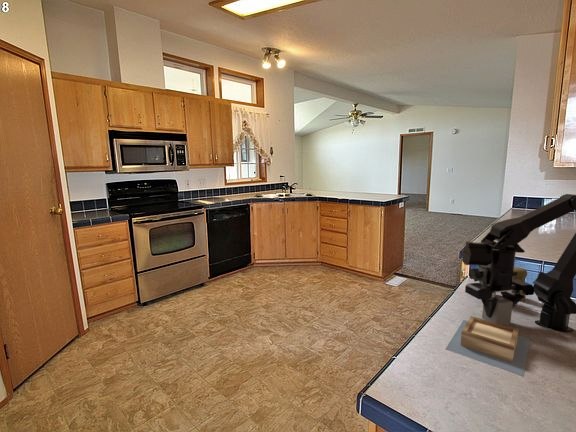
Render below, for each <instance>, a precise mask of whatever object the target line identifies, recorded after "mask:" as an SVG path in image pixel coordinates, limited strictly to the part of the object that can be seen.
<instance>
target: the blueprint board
mask: <svg viewBox="0 0 576 432" xmlns="http://www.w3.org/2000/svg"><path fill="white" fill-rule="evenodd" d="M467 322H468V320H464V319H463V320H462V321H461V323H460V325H459V326H458V329H457V330H456V332H455V333H454V335H453V336H452V338H451V339H450V341H449V342H448V344H447V346H446V347H445V350H446V351H450V352H451V353H452V352H453V353H456V354H458V355H461V356H464V357H467V358H469V359H473V360H475V361H478V362H481V363H484V364H487V365H490V366H493V367H495V368H499V369H501V370H503V371H507V372H510V373H512V374H515V375H518V376H522V377H524V375H525V371H526V367H527V359H528V355H529V354H528V353H529V347H530V343H531V338H528V337H525V336H521V335H518V339H517V345H516V349H515V353H514V357H513V361H512V362H510V361H507V360H504V359H501V358H498V357H495V356H492V355H489V354H486V353H483V352H480V351H477V350H474V349H471V348H468V347H465V346H462V345H460V344H461V334H462V330H463V328H464V327H465V325H466V323H467Z"/></svg>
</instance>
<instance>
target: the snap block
mask: <svg viewBox="0 0 576 432" xmlns="http://www.w3.org/2000/svg"><path fill="white" fill-rule="evenodd" d="M494 298H496V299H498V301H497V304H496V306H495V309H494V312H493V314H492V316H491V318H489V317H487V315H486V312H485V309H484V305H483V306H482V315H481V319H483V320H487V321H491V322H494V323H498V324H502V325H505V326H508V325H511V322H512V312H513V308H512V305H513V302H512V301H510V300H508V299H506V298H504V297H503V296H502V295H499V294H496V295H494Z"/></svg>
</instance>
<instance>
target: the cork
mask: <svg viewBox="0 0 576 432" xmlns="http://www.w3.org/2000/svg"><path fill="white" fill-rule="evenodd" d="M514 271H516V272H517V275H515V276H513V280H521V281H524V282H526V280H525V279H526V278H527V277H528V271H527V270H526V268H523V267H519V266H514ZM520 295H523V296H524V298H522V299H521V300H520V301H519V302H524V301H526V297H527V295H524V294H523V291H522V290H520Z"/></svg>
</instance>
